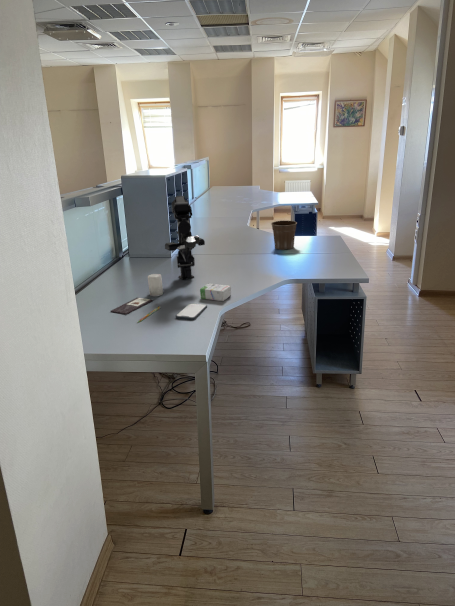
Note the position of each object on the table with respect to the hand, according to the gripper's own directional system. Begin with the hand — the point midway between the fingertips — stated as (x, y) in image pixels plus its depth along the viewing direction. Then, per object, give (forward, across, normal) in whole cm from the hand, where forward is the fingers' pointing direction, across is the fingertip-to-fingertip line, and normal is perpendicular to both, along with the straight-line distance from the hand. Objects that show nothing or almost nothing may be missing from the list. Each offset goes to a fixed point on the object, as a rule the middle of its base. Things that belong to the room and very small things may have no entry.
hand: (186, 261), depth 217 cm
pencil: (+14, -30, -24) cm, 41 cm away
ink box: (+11, 0, -17) cm, 20 cm away
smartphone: (+14, -14, -32) cm, 37 cm away
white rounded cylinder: (+13, -17, 0) cm, 21 cm away
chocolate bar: (+14, -32, -9) cm, 36 cm away
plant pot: (+13, +84, +33) cm, 91 cm away
